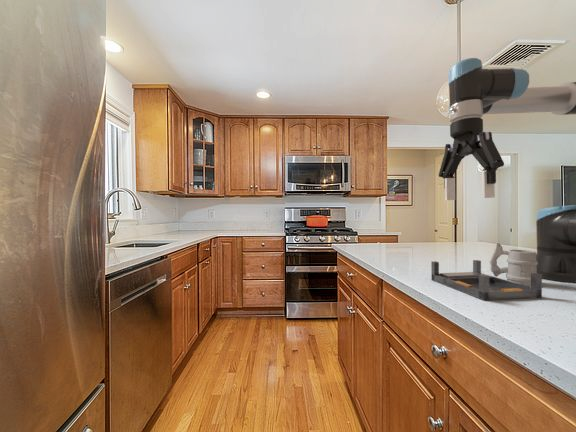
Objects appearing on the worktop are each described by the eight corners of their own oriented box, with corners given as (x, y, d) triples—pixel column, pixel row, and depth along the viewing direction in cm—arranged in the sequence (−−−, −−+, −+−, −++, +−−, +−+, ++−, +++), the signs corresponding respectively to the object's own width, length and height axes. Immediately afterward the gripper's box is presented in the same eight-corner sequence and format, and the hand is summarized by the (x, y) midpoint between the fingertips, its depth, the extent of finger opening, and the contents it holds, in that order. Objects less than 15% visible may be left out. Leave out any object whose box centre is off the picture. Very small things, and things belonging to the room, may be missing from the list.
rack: (477, 278, 92) (477, 260, 92) (541, 297, 71) (542, 274, 71) (431, 280, 90) (431, 261, 90) (483, 300, 69) (483, 276, 69)
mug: (539, 287, 80) (540, 246, 80) (489, 281, 87) (489, 243, 87) (537, 282, 86) (537, 243, 86) (490, 277, 93) (490, 241, 93)
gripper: (425, 133, 88) (426, 201, 88) (492, 102, 63) (494, 196, 63) (447, 133, 88) (448, 200, 89) (522, 103, 64) (523, 195, 64)
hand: (467, 199), depth 76 cm, fingers open, 13 cm apart
